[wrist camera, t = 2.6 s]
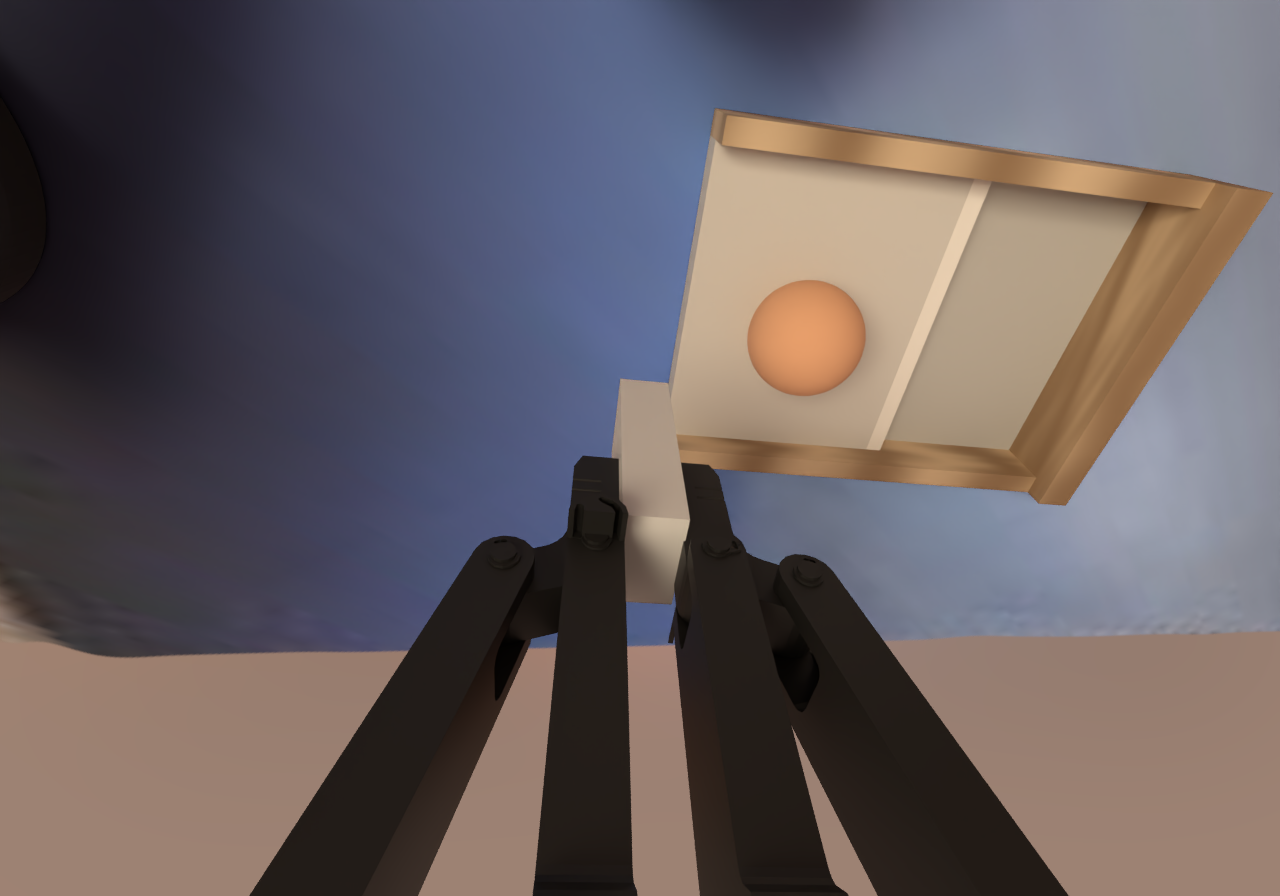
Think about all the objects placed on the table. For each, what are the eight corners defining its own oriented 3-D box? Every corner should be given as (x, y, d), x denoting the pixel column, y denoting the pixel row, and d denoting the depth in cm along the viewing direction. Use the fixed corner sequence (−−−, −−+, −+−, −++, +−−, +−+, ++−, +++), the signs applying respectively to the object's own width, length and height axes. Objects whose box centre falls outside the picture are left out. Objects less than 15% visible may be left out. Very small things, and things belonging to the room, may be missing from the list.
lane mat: (662, 418, 33) (664, 433, 32) (710, 135, 25) (715, 139, 24) (1006, 446, 35) (1020, 461, 34) (1146, 193, 27) (1171, 201, 26)
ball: (728, 360, 29) (748, 412, 25) (751, 259, 27) (777, 298, 23) (825, 369, 30) (860, 421, 26) (857, 271, 27) (902, 311, 23)
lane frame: (660, 434, 33) (665, 476, 30) (714, 108, 25) (731, 117, 21) (1023, 462, 36) (1065, 505, 32) (1191, 174, 27) (1273, 193, 24)
